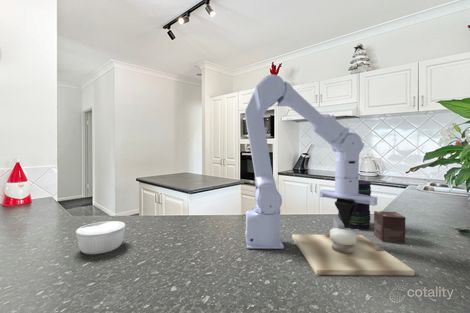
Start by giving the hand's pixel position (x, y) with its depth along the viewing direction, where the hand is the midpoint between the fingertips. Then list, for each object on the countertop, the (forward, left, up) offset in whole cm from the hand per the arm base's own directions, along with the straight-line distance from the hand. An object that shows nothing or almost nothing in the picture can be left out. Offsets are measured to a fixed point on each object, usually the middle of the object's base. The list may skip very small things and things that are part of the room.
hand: (345, 227), depth 64 cm
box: (+14, +4, -5) cm, 16 cm away
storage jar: (+10, +16, -5) cm, 20 cm away
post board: (-4, -6, -5) cm, 8 cm away
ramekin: (-65, -3, -5) cm, 65 cm away
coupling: (-3, -3, -1) cm, 4 cm away
